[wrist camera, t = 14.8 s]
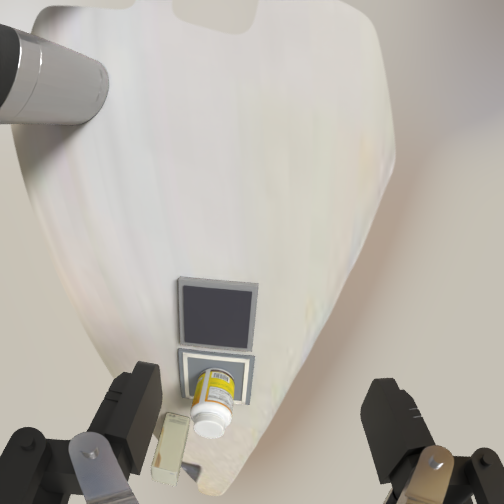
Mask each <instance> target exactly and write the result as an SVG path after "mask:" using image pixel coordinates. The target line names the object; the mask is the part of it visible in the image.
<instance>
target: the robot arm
mask: <svg viewBox="0 0 504 504" xmlns="http://www.w3.org/2000/svg"><path fill="white" fill-rule="evenodd" d="M108 88H109V79H108V74H107V72H106V69H105V68H104V66H103V65H102V64H101V63H99V62H98V61H96V60H94V59H92V58H89V57H87V56H85V55H83V54H81V53H78V52H76V51H73V50H71V49H69V48H66V47H64V46H61V45H59V44H56V43H54V42H51V41H48V40H46V39H43V38H40V37H38V36H35V35H32V34H29V33H26V32H23V31H20V30H17V29H14V28H11V27H8V26H5V25H2V24H0V124H56V125H79V124H82V123H85V122H87V121H88V120H90V119H91V118H92V117H93V116H95V115H96V114H97V112H98V111H99V110H100V109H101V107H102V105H103V103H104V102H105V99H106V96H107V93H108ZM161 404H162V387H161V378H160V369H159V365H158V364H153V363H147V362H141V361H138V362H137V364H136V366H135V368H134V370H133V372H132V373H127V372H123V373H122V374H120V375H119V376H118V377H117V378H115V379H114V380H113V382H112V384H111V386H110V388H109V391H108V392H107V394H106V395H105V398H104V400H103V402H102V403H101V405H100V407H99V409H98V411H97V413H96V415H95V417H94V419H93V421H92V423H91V425H90V427H89V429H88V430H87V432H83V433H80V434H78V435H76V436H75V437H74V438H72V440H54V439H46V438H45V437H44V435H43V434H42V433H41V432H40V431H39V430H37V429H35V428H32V427H24V428H21V429H18V430H17V431H16V432H14V433H13V435H12V436H11V438H10V440H9V442H8V443H7V445H6V447H5V449H4V451H3V453H2V455H1V456H0V504H68V501H69V497H70V495H71V494H76V495H84V497H85V500H86V502H87V504H139V503H138V501H137V499H136V498H135V496H134V494H133V492H132V490H131V488H130V486H129V484H128V479H129V476H130V473H132V474H136V475H140V472H141V468H142V466H143V462H144V459H145V456H146V453H147V449H148V446H149V443H150V440H151V437H152V433H153V430H154V427H155V424H156V421H157V418H158V415H159V412H160V409H161ZM360 415H361V421H362V424H363V428H364V431H365V434H366V437H367V440H368V444H369V446H370V450H371V453H372V457H373V460H374V464H375V467H376V470H377V474H378V477H379V481H380V484H385V483H391V484H392V489H391V490H390V491H389V493H388V495H387V497H386V499H385V501H384V503H383V504H473V502H472V499H471V496H472V495H473V494H474V496H475V499H476V502H477V504H504V467H503V465H502V463H501V461H500V459H499V457H498V455H497V454H496V453H495V452H494V451H493V450H491V449H489V448H479V449H477V450H476V451H475V452H474V453H473V454H472V456H471V457H463V456H462V457H461V456H453V455H452V454H451V452H450V451H449V450H447V449H446V448H444V447H442V446H439V445H435V442H434V440H433V438H432V436H431V434H430V432H429V430H428V428H427V426H426V424H425V422H424V419H423V417H421V413H420V411H419V410H418V409H417V406H416V404H415V402H414V400H413V398H412V397H411V396H410V395H409V394H408V393H407V392H406V391H405V390H400V389H399V387H398V385H397V383H396V381H395V379H393V378H381V379H374V380H373V381H372V383H371V386H370V388H369V390H368V393H367V395H366V397H365V400H364V402H363V404H362V407H361V414H360Z"/></svg>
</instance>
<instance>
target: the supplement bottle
mask: <svg viewBox="0 0 504 504" xmlns="http://www.w3.org/2000/svg"><path fill="white" fill-rule="evenodd" d="M234 388H235V381H234V378H233V377H232V375H231V374H230V373H229V372H227V371H225V370H223V369H219V368H210V369H207V370H205V371H203V372H202V373H201V374H200V375H199V378H198V382H197V386H196V390H195V395H194V399H193V403H192V407H191V412H190V416H191V419H192V420H193V422H194V431H195V432H196V433H197V434H198V435H200V436H202V437H204V438H209V439H214V438H219V437H221V436H222V435H223V434H224V430H225V427H227V426H228V425H229V424H230V422H231V420H232V410H233V399H234Z"/></svg>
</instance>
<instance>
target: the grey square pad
mask: <svg viewBox="0 0 504 504" xmlns="http://www.w3.org/2000/svg"><path fill="white" fill-rule="evenodd" d="M178 354H179V369H180V382H181V394H182V398H188V399H194V395H195V390H196V386H197V382H198V378H199V375H200V374H201V373H202V372H203V371H205V370H207V369H210V368H219V369H223V370H225V371H227V372H229V373H230V374H231V375H232V377H233V378H234V381H235V388H234V399H233V404H244V405H250V396H251V387H252V379H253V370H254V360H255V356H250V355H238V354H227V353H216V352H207V351H198V350H190V349H182V348H179V350H178Z"/></svg>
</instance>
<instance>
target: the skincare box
mask: <svg viewBox="0 0 504 504" xmlns="http://www.w3.org/2000/svg"><path fill="white" fill-rule="evenodd" d="M189 422H190V418H188V417H184V416H180V415H176V414H172V413H167V414H166V417H165V420H164V424H163V427H162V431H161V434H160V437H159V441H158V444H157V448H156V451H155V455H154V458H153V462H152V465H151V476H152V480H153V481H157V482H160V483H164V484H168V485H172V486H177V482H178V476H179V472H180V468H181V463H182V458H183V454H184V449H185V444H186V440H187V435H188V430H189Z"/></svg>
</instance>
